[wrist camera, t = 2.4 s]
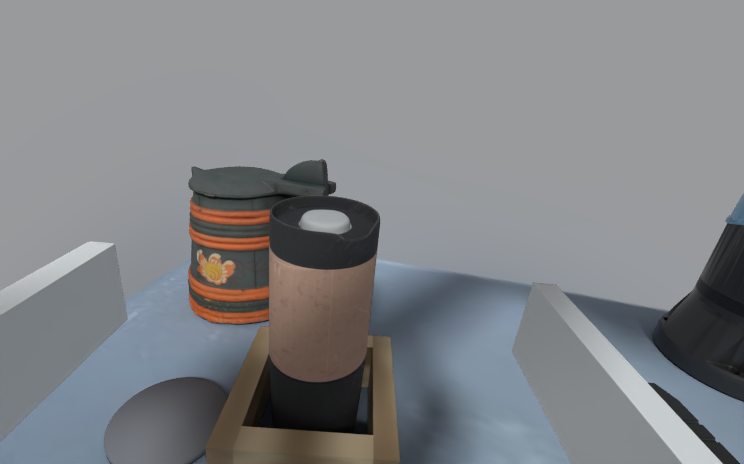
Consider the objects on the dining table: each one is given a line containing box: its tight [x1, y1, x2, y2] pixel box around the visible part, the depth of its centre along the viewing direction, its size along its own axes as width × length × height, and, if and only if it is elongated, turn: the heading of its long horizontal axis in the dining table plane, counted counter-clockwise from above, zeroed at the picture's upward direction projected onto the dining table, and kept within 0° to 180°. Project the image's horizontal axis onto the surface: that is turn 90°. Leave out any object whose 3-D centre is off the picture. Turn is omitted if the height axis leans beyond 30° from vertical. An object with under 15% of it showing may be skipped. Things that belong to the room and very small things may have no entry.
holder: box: [205, 326, 400, 464], centre depth 31 cm, size 13×13×5 cm
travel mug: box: [269, 196, 380, 434], centre depth 29 cm, size 8×8×20 cm
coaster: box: [104, 377, 227, 464], centre depth 31 cm, size 9×9×1 cm
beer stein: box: [188, 159, 336, 324], centre depth 46 cm, size 19×15×20 cm
